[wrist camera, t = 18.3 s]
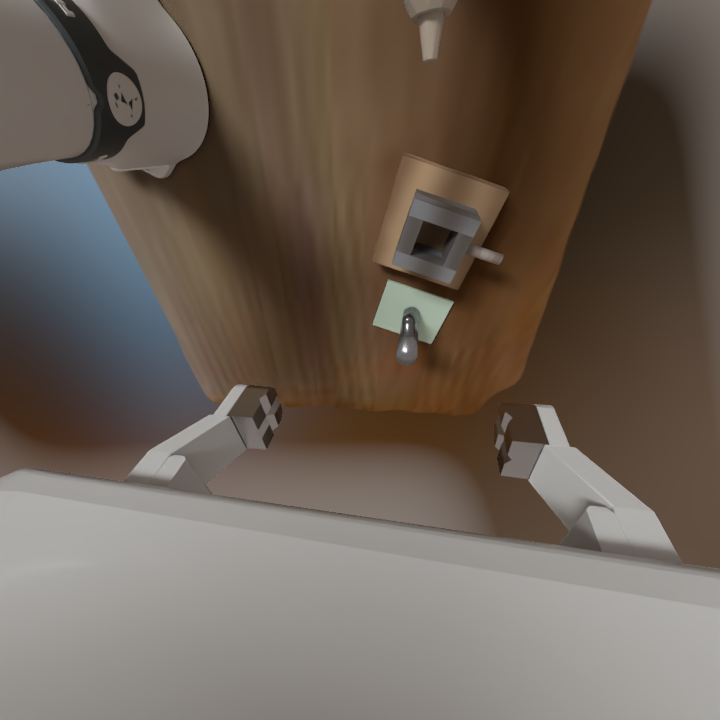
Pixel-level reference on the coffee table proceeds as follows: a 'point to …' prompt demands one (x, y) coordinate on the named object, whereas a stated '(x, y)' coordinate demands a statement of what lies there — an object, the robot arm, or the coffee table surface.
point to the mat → (406, 296)
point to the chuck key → (408, 336)
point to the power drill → (429, 23)
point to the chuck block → (438, 222)
